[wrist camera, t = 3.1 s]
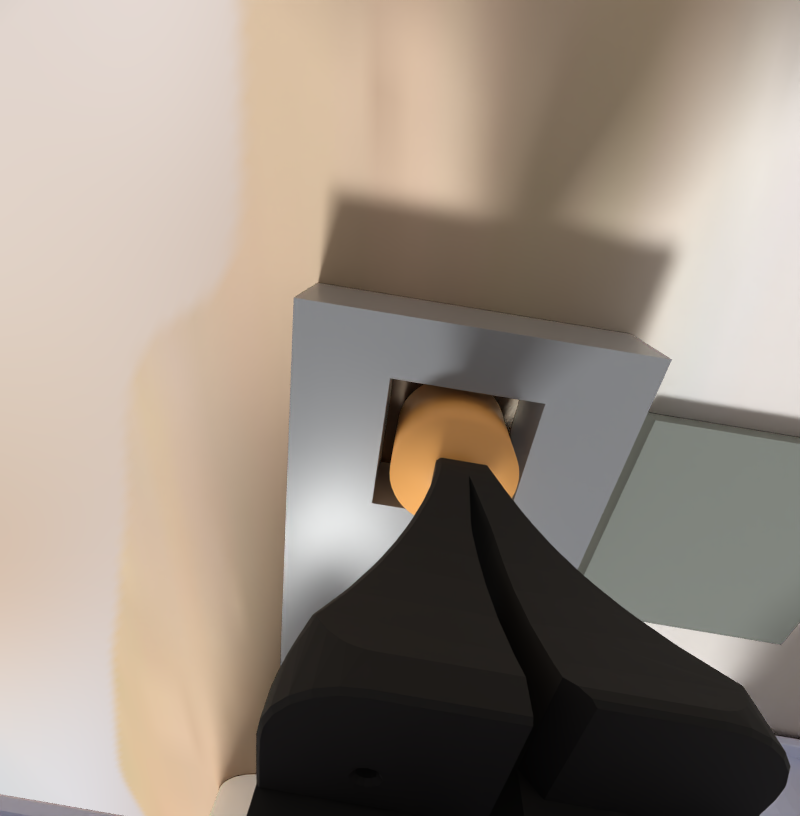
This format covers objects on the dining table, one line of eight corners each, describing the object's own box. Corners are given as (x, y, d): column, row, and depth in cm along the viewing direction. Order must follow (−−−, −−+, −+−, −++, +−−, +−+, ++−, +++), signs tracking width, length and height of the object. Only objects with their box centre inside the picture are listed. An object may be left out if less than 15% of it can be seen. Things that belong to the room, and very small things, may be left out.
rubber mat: (909, 455, 14) (929, 465, 14) (770, 631, 18) (781, 644, 18) (647, 412, 14) (655, 420, 14) (564, 597, 18) (568, 609, 18)
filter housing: (631, 334, 13) (671, 359, 11) (475, 728, 23) (480, 786, 20) (317, 283, 13) (293, 297, 11) (292, 698, 23) (277, 751, 21)
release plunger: (515, 387, 14) (535, 431, 11) (489, 478, 15) (500, 536, 13) (406, 369, 14) (399, 409, 11) (391, 462, 15) (381, 516, 13)
